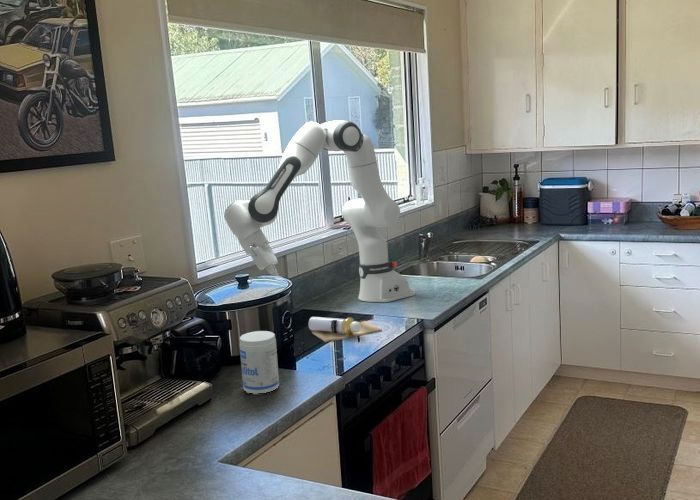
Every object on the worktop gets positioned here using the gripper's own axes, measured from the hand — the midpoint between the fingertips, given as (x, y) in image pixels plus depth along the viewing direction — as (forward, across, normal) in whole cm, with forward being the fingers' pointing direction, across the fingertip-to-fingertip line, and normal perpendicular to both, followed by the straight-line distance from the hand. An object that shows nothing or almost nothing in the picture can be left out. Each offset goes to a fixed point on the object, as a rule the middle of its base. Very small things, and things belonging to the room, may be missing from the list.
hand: (276, 277), depth 242 cm
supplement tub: (+26, -58, +9) cm, 64 cm away
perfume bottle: (+20, -9, -3) cm, 22 cm away
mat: (+28, -11, -12) cm, 33 cm away
